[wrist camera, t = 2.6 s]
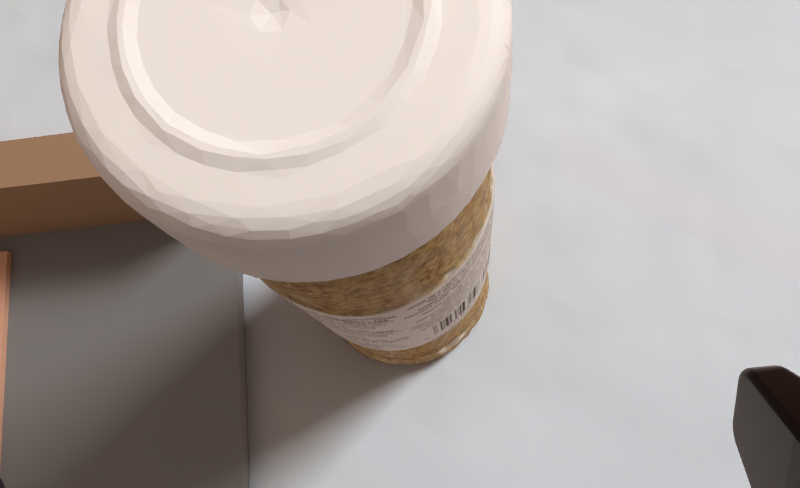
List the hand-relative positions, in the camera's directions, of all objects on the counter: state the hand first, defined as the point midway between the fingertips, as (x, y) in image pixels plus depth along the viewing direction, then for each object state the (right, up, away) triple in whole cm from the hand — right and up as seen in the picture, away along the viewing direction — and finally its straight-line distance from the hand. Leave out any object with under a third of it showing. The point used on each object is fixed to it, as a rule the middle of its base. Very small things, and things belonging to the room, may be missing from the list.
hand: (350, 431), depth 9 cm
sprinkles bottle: (+1, +1, +11) cm, 11 cm away
